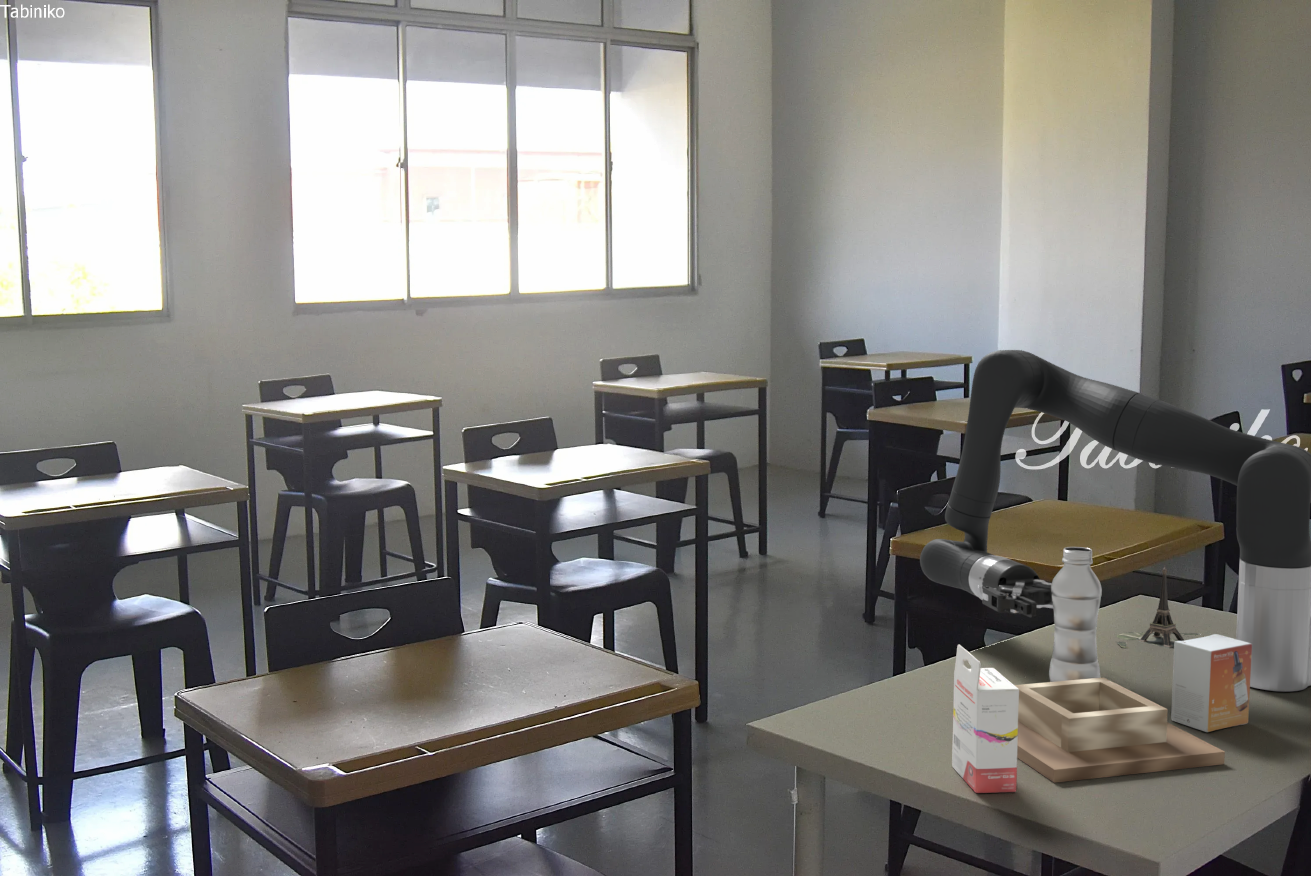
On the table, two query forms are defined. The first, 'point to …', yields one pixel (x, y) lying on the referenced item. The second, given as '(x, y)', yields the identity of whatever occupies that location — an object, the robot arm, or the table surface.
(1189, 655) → the small box
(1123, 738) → the socket board
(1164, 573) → the eiffel tower figurine
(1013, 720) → the ink cartridge box
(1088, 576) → the silver metal bottle
